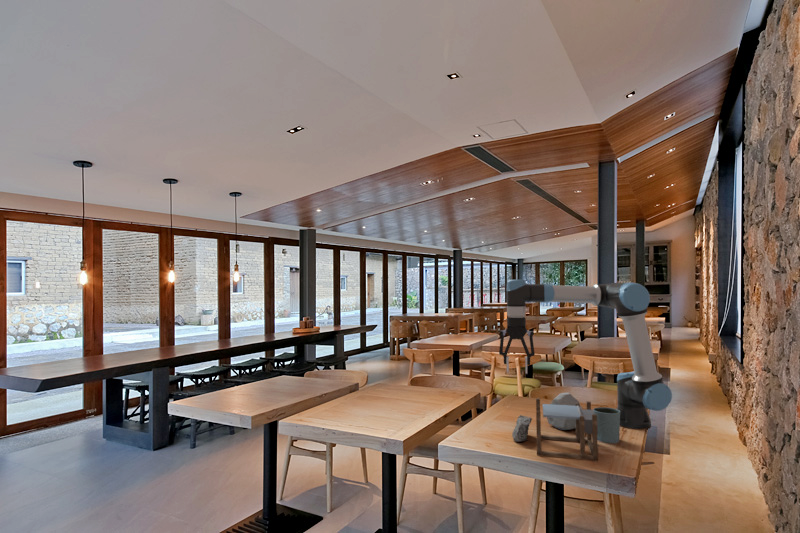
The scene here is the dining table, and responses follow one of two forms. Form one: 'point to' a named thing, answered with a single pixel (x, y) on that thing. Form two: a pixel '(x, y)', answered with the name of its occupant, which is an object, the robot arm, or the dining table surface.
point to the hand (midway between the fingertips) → (517, 372)
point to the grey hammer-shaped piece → (570, 414)
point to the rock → (521, 428)
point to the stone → (562, 422)
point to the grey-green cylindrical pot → (608, 424)
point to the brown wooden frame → (579, 437)
